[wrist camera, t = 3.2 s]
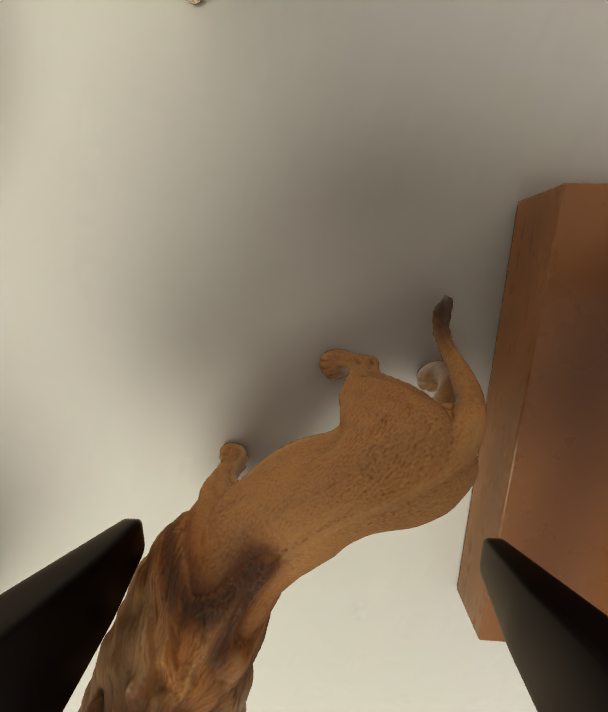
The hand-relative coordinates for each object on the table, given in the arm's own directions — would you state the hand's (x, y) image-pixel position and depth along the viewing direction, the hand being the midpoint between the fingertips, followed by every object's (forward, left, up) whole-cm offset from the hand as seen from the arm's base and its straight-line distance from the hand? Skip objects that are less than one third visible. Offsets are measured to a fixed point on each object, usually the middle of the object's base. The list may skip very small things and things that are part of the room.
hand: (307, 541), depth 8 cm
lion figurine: (0, 0, -6) cm, 6 cm away
